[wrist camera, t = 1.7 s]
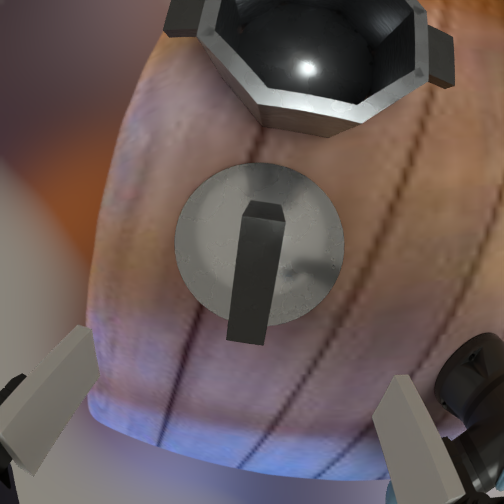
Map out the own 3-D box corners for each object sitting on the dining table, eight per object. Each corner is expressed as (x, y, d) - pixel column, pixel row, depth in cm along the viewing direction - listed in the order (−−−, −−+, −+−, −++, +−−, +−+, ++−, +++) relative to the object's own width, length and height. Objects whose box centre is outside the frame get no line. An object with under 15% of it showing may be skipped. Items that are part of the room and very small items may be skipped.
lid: (319, 323, 35) (336, 387, 24) (178, 302, 35) (143, 357, 24) (352, 178, 30) (395, 187, 19) (189, 154, 30) (146, 150, 19)
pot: (395, 154, 28) (455, 154, 17) (189, 119, 29) (144, 98, 17) (403, 29, 23) (450, -13, 12) (214, -6, 24) (190, -64, 12)
